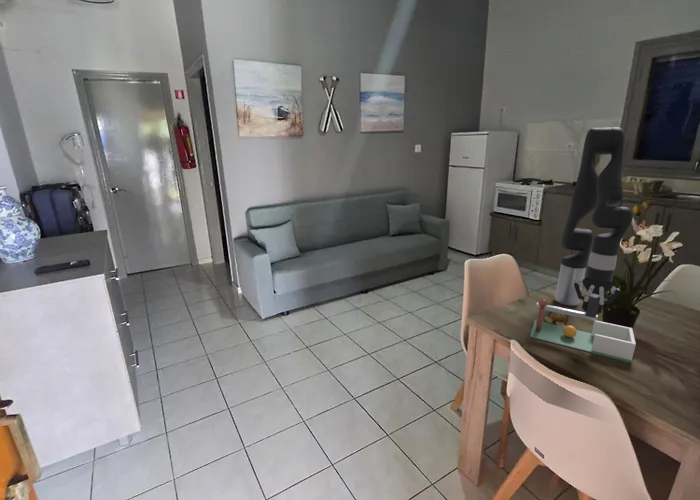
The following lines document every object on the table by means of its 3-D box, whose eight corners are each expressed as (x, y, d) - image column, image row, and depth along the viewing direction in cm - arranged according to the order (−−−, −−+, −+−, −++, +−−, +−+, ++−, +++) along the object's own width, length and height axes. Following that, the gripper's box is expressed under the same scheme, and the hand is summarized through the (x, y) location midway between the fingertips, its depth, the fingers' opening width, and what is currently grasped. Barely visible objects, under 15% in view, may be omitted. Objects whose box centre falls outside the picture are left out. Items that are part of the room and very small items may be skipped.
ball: (562, 332, 134) (564, 321, 133) (575, 335, 132) (578, 325, 130) (561, 337, 131) (563, 327, 129) (575, 341, 128) (577, 330, 127)
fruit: (542, 321, 144) (543, 312, 142) (550, 314, 149) (552, 306, 148) (564, 329, 138) (566, 320, 136) (572, 322, 143) (574, 313, 141)
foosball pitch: (534, 321, 143) (536, 306, 141) (627, 342, 128) (631, 326, 126) (529, 337, 132) (532, 321, 130) (631, 363, 116) (636, 345, 115)
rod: (533, 324, 139) (540, 284, 134) (591, 338, 129) (601, 295, 124) (532, 329, 136) (538, 288, 130) (591, 343, 126) (601, 299, 121)
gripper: (626, 265, 119) (615, 312, 125) (576, 258, 126) (568, 303, 132) (628, 273, 113) (616, 321, 119) (576, 265, 120) (567, 311, 126)
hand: (591, 311), depth 125 cm, fingers closed on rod, 3 cm apart
